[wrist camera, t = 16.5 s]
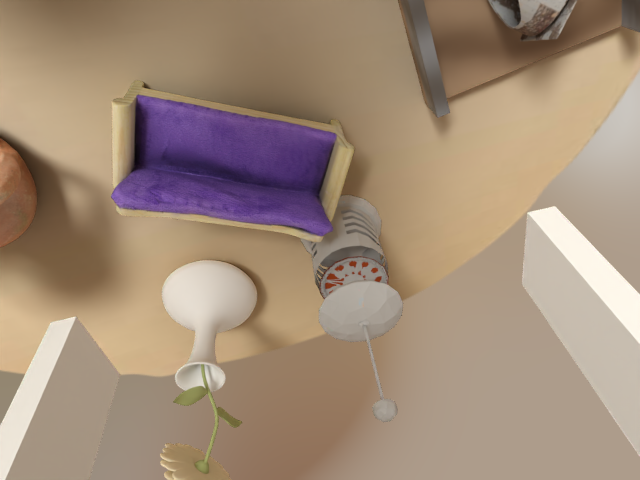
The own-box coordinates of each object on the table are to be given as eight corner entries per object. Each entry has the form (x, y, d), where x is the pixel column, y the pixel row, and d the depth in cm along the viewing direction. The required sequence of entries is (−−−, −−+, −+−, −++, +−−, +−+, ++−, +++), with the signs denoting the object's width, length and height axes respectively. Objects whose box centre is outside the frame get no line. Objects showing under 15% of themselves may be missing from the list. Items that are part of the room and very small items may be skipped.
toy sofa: (346, 119, 47) (364, 165, 39) (325, 192, 52) (337, 246, 44) (128, 74, 43) (97, 116, 34) (127, 158, 47) (99, 213, 39)
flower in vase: (144, 274, 56) (81, 483, 36) (228, 237, 54) (210, 437, 34) (203, 338, 64) (178, 541, 44) (278, 308, 62) (288, 505, 42)
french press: (353, 179, 51) (414, 358, 31) (403, 244, 58) (480, 429, 38) (282, 225, 54) (296, 418, 34) (337, 283, 60) (377, 475, 40)
